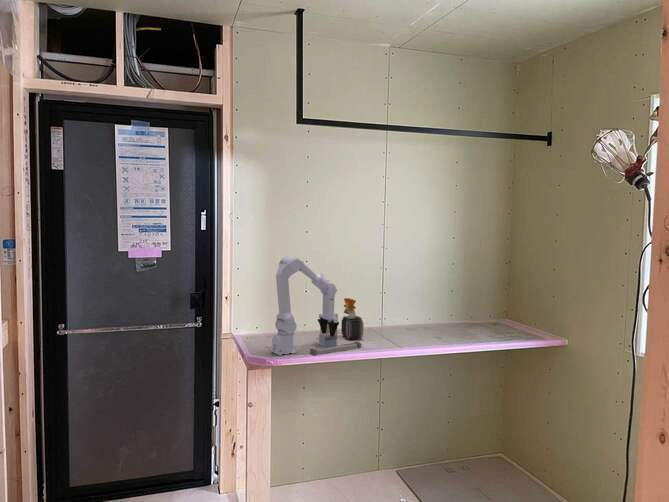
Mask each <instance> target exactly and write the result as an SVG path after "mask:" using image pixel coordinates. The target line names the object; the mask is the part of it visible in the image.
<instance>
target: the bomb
mask: <svg viewBox="0 0 669 502" xmlns="http://www.w3.org/2000/svg"><path fill="white" fill-rule="evenodd" d="M343 301H344V303H345V304H343V307H344V310H343V313H344V314H346V315H344V316H343V317H342V319H341V325H340V326H341V329H340V330H341V335H342V338H344V339H346V340H347V341H352V340H353V341H354V340H362V338H363V336H364V324H365V323H364V321H363V320H362V319H363V318H362V317H361V316H358V315H356V312H355V309H356V306H355V305H356V302H357V301H356V299H352V298H349V297H347V298H343ZM347 315H348V316H347Z"/></svg>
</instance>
